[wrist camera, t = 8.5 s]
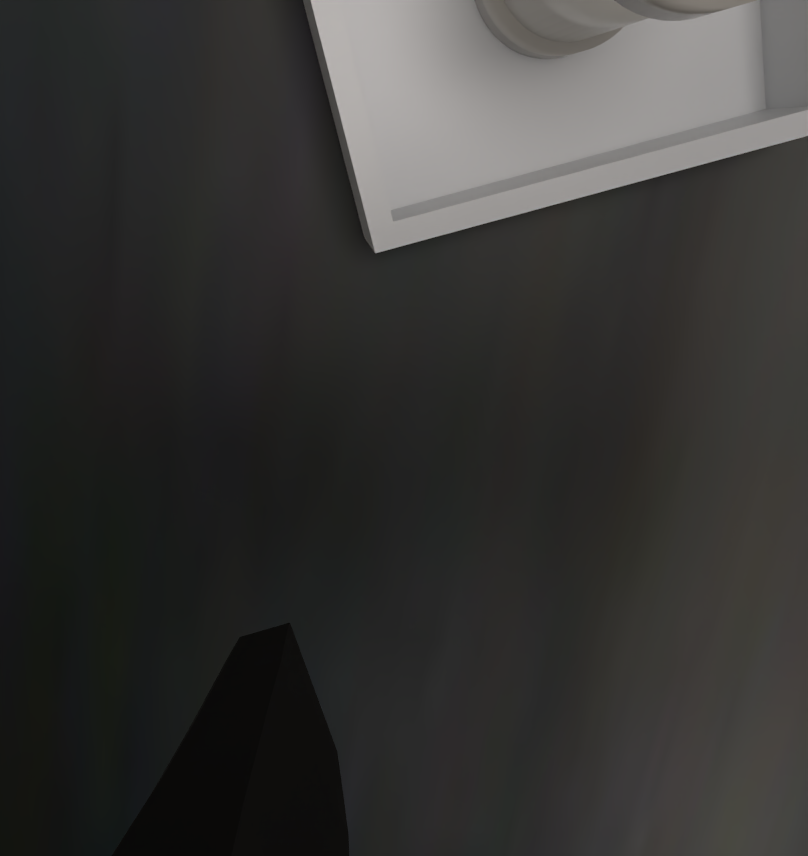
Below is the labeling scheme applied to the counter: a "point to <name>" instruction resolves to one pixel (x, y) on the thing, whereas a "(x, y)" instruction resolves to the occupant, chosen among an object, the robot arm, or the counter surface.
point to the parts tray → (542, 107)
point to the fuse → (580, 21)
